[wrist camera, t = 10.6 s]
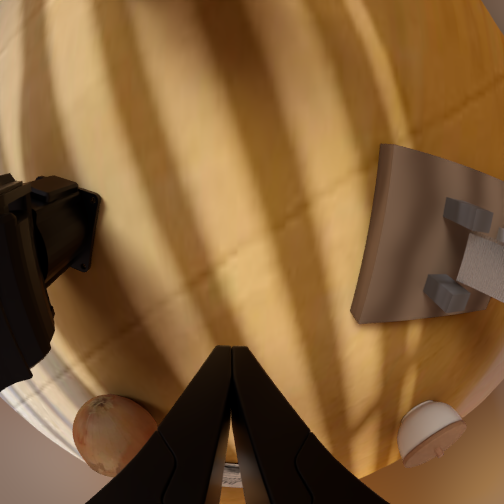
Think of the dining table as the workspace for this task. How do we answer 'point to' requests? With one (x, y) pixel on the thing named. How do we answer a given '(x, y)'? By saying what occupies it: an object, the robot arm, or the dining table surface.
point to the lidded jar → (428, 432)
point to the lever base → (423, 237)
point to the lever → (483, 265)
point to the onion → (111, 432)
